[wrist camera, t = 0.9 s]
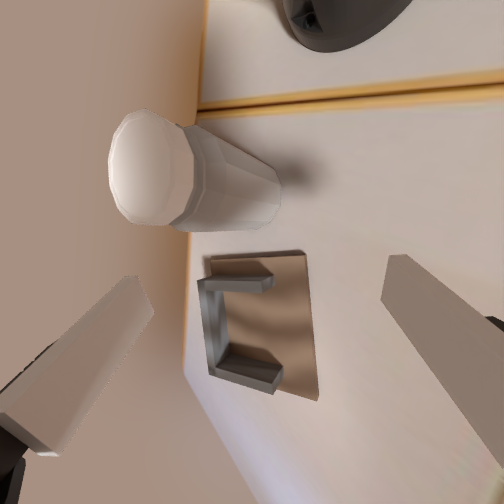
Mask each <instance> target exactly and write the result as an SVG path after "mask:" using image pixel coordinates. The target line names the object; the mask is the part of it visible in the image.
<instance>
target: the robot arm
mask: <svg viewBox="0 0 504 504" xmlns="http://www.w3.org/2000/svg"><path fill="white" fill-rule="evenodd" d="M411 2H412V0H282V3H283V7H284V11H285V14H286V17H287V19H288V22H289V24H290V27H291V29H292V31H293V33H294V35H295V36H296V38H297V39H298V40H299V41H300V42H301V43H302V44H303V45H304V46H306V47H307V48H310V49H312V50H315V51H319V52H335V51H340V50H344V49H347V48H350V47H353V46H355V45H358V44H360V43H362V42H364V41H365V40H367V39H369V38H371V37H372V36H374V35H375V34H377V33H378V32H380V31H381V30H382V29H384V28H385V27H386V26H387V25H388V24H390V23H391V22H392V21H393V20H394V19H395V18H396V17H397V16H398V15H399V14H400V13H401V12H402V11H403V10H404V9H405V8H406V7H407V6H408V5H409V4H410V3H411ZM381 301H382V303H383V304H384V305H385V307H386V308H387V310H388V311H389V312H390V314H391V315H392V316H393V318H394V319H395V321H396V322H397V323H398V325H399V326H400V328H401V329H402V330H403V332H404V333H405V334H406V336H407V337H408V339H409V340H410V341H411V343H412V344H413V346H414V347H415V348H416V350H417V351H418V352H419V354H420V355H421V357H422V358H423V359H424V361H425V362H426V364H427V365H428V366H429V368H430V369H431V370H432V372H433V373H434V375H435V376H436V377H437V379H438V380H439V382H440V383H441V384H442V386H443V387H444V388H445V390H446V391H447V393H448V394H449V395H450V397H451V398H452V400H453V401H454V402H455V404H456V405H457V406H458V408H459V409H460V411H461V412H462V413H463V415H464V416H465V418H466V419H467V420H468V422H469V423H470V424H471V426H472V427H473V429H474V430H475V431H476V433H477V434H478V436H479V437H480V438H481V440H482V441H483V442H484V444H485V445H486V447H487V448H488V449H489V451H490V452H491V454H492V455H493V456H494V458H495V459H496V460H497V462H498V463H499V465H500V466H501V467H502V469H503V470H504V322H503V321H501V320H499V319H497V318H495V317H493V316H489V317H484V316H483V315H481V314H480V313H479V312H478V311H476V310H475V309H474V308H473V307H471V306H470V305H469V304H468V303H466V302H465V301H464V300H463V299H461V298H460V297H459V296H458V295H456V294H455V293H454V292H453V291H451V290H450V289H449V288H448V287H446V286H445V285H444V284H443V283H441V282H440V281H439V280H438V279H436V278H435V277H434V276H433V275H432V274H430V273H429V272H428V271H427V270H425V269H424V268H423V267H422V266H420V265H419V264H418V263H417V262H415V261H414V260H413V259H412V258H410V257H409V256H408V255H407V254H403V255H391V256H389V259H388V264H387V270H386V275H385V280H384V285H383V290H382V295H381ZM153 314H154V311H153V309H152V306H151V304H150V302H149V300H148V298H147V296H146V293H145V291H144V289H143V287H142V285H141V283H140V280H139V278H138V276H126V277H124V278H123V279H122V280H121V281H119V282H118V283H117V284H116V285H115V286H114V287H113V288H112V289H111V290H110V291H109V292H108V293H107V294H106V295H105V296H104V297H103V298H102V299H100V300H99V301H98V302H97V303H96V304H95V305H94V306H93V307H92V308H91V309H90V310H89V311H88V312H87V313H86V314H85V315H83V316H82V317H81V318H80V319H79V320H78V321H77V322H76V323H75V324H74V325H73V326H72V327H71V328H70V329H69V330H68V331H67V332H66V333H65V334H64V335H62V336H61V337H60V338H59V339H58V340H57V341H55V342H54V343H52V344H51V345H50V346H48V347H47V348H46V349H45V350H44V351H43V352H41V353H40V355H38V356H37V357H36V358H35V360H34V361H32V362H31V363H30V364H29V365H28V366H26V367H25V368H24V371H23V372H20V373H19V374H18V375H17V376H16V377H15V378H14V379H13V380H12V381H10V382H9V383H8V384H7V385H6V386H5V387H4V388H3V389H2V390H1V391H0V504H18V500H19V495H20V490H21V486H22V481H23V475H24V471H25V466H26V463H25V459H24V458H23V457H22V455H23V454H24V453H25V452H26V450H27V449H28V448H30V449H31V450H33V451H34V452H36V453H37V454H38V455H40V456H60V455H61V454H62V452H63V451H64V449H65V448H66V446H67V445H68V443H69V441H70V440H71V438H72V437H73V435H74V434H75V432H76V431H77V429H78V428H79V426H80V425H81V423H82V422H83V420H84V419H85V417H86V416H87V414H88V413H89V411H90V410H91V408H92V407H93V405H94V403H95V402H96V401H97V399H98V397H99V396H100V394H101V393H102V391H103V390H104V388H105V387H106V385H107V384H108V382H109V381H110V379H111V378H112V376H113V374H114V373H115V372H116V370H117V369H118V367H119V366H120V364H121V362H122V361H123V360H124V358H125V357H126V355H127V353H128V352H129V350H130V349H131V347H132V346H133V344H134V343H135V341H136V340H137V338H138V337H139V335H140V334H141V332H142V331H143V329H144V328H145V326H146V324H147V323H148V321H149V320H150V318H151V317H152V316H153Z"/></svg>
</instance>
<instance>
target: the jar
mask: <svg viewBox="0 0 504 504" xmlns="http://www.w3.org/2000/svg"><path fill="white" fill-rule="evenodd" d="M108 169H109V186H110V188H111V191H112V194H113V197H114V199H115V203H116V205H117V208H118V210H119V211H120V212H121V213H122V214H123V215H124V216H125V217H126V218H127V219H128V220H129V221H130V222H131V223H132V224H141V225H172V226H173V227H174V228H175V229H176V230H178V231H188V232H213V231H236V230H257V229H258V228H260V227H262V226H264V225H266V224H267V223H269V222H271V220H272V219H273V217H274V215H275V214H276V212H277V210H278V209H279V207H280V203H281V189H282V186H281V183H280V181H279V179H278V177H277V175H276V172H275V170H274V169H273V168H271V167H269V166H268V165H266V164H264V163H263V162H261V161H260V160H258V159H256V158H254V157H252V156H251V155H249V154H247V153H245V152H244V151H242V150H240V149H238V148H236V147H235V146H233V145H231V144H229V143H228V142H226V141H224V140H222V139H220V138H219V137H217V136H215V135H213V134H212V133H210V132H208V131H206V130H204V129H203V128H201V127H199V126H197V125H192V126H188V127H184V128H183V127H181V126H180V125H178V124H173V123H172V122H170V121H168V120H167V119H165V118H163V117H161V116H160V115H158V114H156V113H154V112H152V111H150V110H148V109H146V108H144V109H141V110H138V111H135V112H132V113H129V114H127V115H126V117H125V118H124V120H123V121H122V123H121V124H120V126H119V127H118V129H117V130H116V132H115V134H114V135H113V139H112V144H111V148H110V153H109V158H108Z"/></svg>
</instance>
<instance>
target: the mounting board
mask: <svg viewBox="0 0 504 504" xmlns="http://www.w3.org/2000/svg"><path fill="white" fill-rule="evenodd" d="M210 263H211V271H212V276H210V277H206V278H203V279H200V280H197V284H198V292H199V300H200V308H201V316H202V324H203V331H204V339H205V347H206V355H207V363H208V371H209V375H212V376H215V377H218V378H221V379H224V380H227V381H231V382H234V383H237V384H240V385H243V386H246V387H249V388H253V389H256V390H259V391H262V392H265V393H268V394H271V395H273V394H274V392H275V391H276V389H278V390H281V391H284V392H288V393H291V394H294V395H298V396H301V397H304V398H308V399H311V400H314V401H317V400H318V397H319V389H318V378H317V367H316V356H315V345H314V334H313V323H312V312H311V300H310V289H309V278H308V267H307V256H306V255H289V256H270V257H251V258H232V259H214V260H210Z"/></svg>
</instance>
